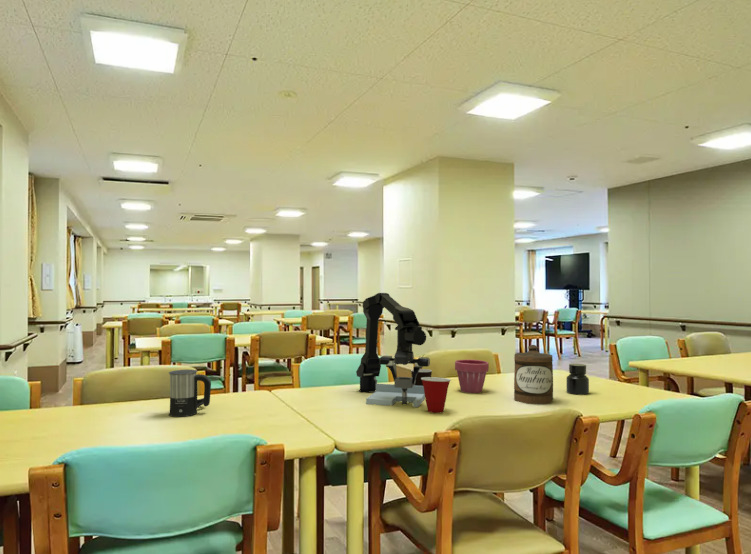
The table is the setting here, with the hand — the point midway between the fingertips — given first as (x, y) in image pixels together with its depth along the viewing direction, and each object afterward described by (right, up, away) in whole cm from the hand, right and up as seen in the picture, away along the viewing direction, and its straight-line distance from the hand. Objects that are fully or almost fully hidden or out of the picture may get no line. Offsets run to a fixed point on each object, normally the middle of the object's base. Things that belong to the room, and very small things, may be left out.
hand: (404, 383), depth 203 cm
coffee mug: (+8, -8, +19) cm, 23 cm away
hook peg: (0, -8, 0) cm, 8 cm away
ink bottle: (+75, -9, +24) cm, 80 cm away
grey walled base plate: (-3, -8, +5) cm, 9 cm away
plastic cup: (+11, -8, -11) cm, 17 cm away
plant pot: (+30, -9, +26) cm, 41 cm away
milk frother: (-77, -7, -15) cm, 79 cm away
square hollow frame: (0, -1, 0) cm, 1 cm away
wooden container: (+52, -9, +9) cm, 53 cm away
